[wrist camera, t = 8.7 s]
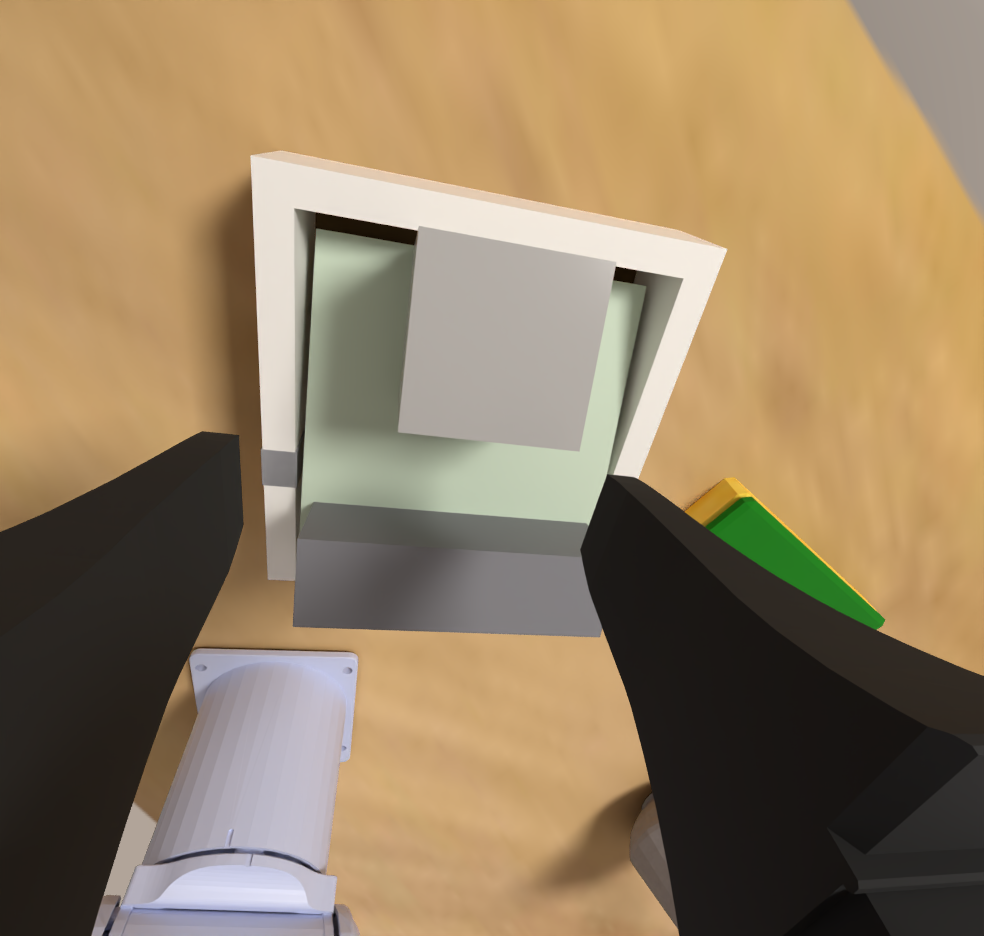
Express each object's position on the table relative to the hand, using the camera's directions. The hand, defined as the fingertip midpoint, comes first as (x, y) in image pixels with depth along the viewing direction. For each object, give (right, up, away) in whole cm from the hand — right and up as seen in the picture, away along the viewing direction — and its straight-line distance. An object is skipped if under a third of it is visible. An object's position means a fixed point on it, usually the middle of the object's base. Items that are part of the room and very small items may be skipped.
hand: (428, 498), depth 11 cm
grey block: (+1, +5, +6) cm, 8 cm away
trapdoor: (0, +2, +8) cm, 8 cm away
